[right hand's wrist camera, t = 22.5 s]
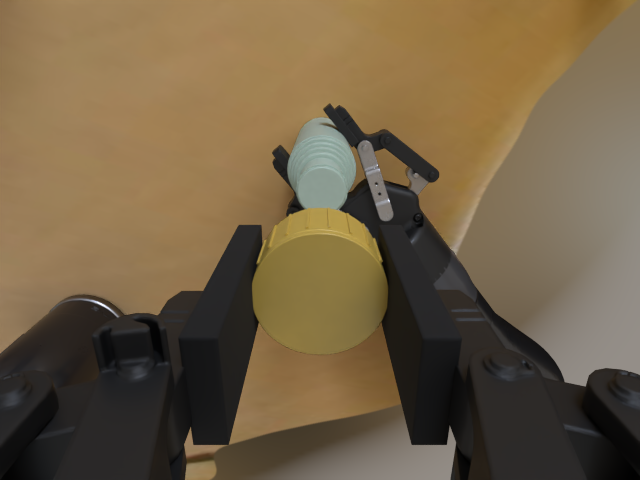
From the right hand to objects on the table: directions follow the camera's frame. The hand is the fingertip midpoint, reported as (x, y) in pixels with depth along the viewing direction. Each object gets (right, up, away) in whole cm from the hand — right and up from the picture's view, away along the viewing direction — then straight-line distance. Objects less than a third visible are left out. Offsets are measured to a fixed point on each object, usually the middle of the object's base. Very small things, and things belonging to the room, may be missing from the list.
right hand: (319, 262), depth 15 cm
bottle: (0, +10, +27) cm, 29 cm away
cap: (0, -1, -2) cm, 2 cm away
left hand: (-2, +10, +20) cm, 23 cm away
